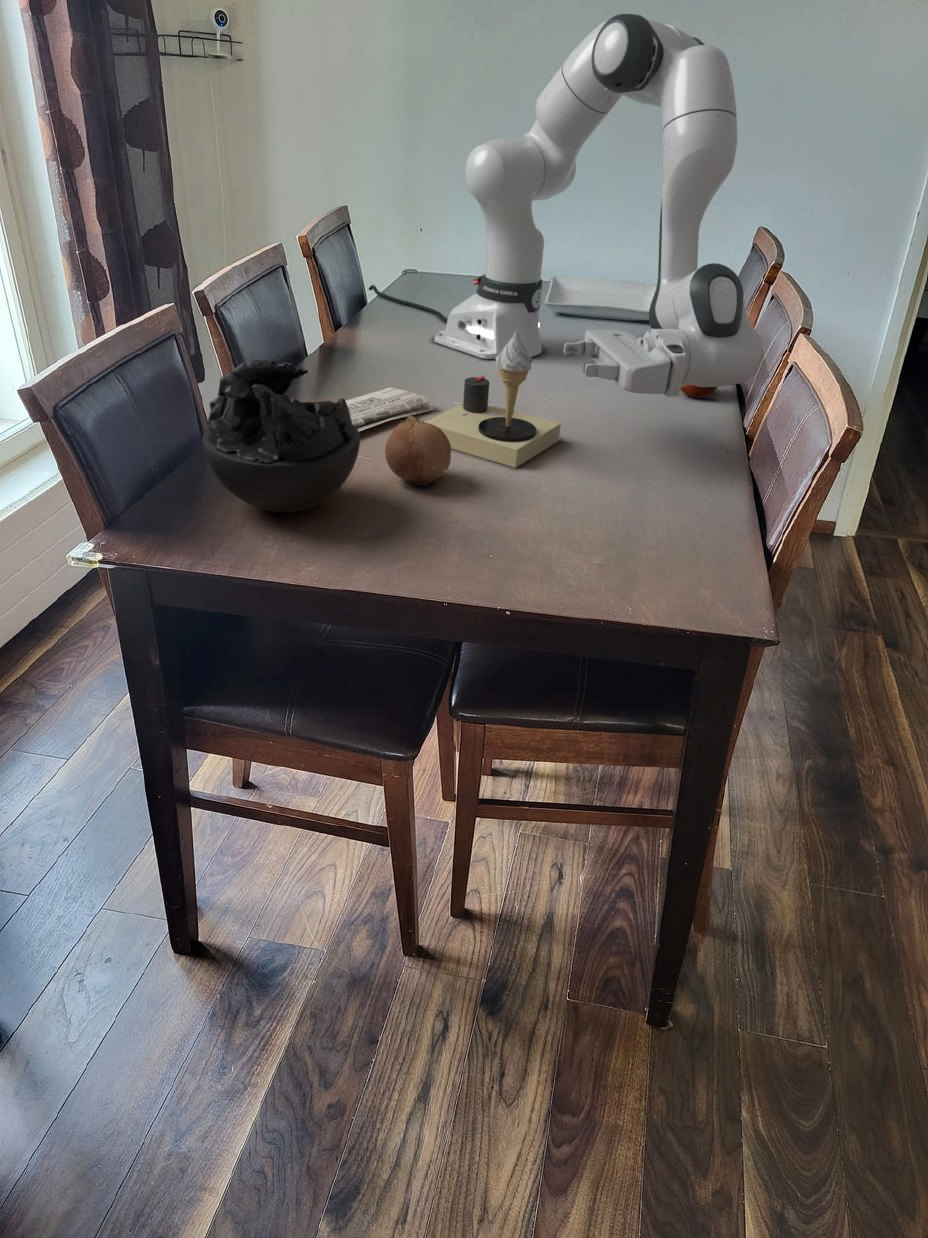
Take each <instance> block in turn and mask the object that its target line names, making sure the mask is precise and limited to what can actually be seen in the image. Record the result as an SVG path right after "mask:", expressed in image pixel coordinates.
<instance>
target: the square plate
mask: <svg viewBox="0 0 928 1238" xmlns="http://www.w3.org/2000/svg"><path fill="white" fill-rule="evenodd" d="M656 287H657V284H653V283H644V282H635V281H629V280H621V279H620V280H619V279H610V278H597V277H582V276H581V277H580V276H563V275H561V276H560V275H552V276H550V280H549V286H548V290H547V293H546V296H545V300H544V305H545V306H546V307H547V308H548V309H549V310H551V311H552V312H555V313H561V314H563V315H566V316H571V317H573V316H574V317H582V318H583V317H584V318H595V319H604V320H605V319H606V320H613V321H614V320H616V321H625V322H639V321H649V309H650V305H651V302H652V299H653V297H654V294H655V291H656Z"/></svg>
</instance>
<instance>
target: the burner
mask: <svg viewBox="0 0 928 1238" xmlns="http://www.w3.org/2000/svg"><path fill="white" fill-rule="evenodd" d="M478 430H479V432H480V433H481V434H482V435H484V436H485V437H488V438H490V439H494V440H498V441H505V442H519V441H525V440H529V439H531V438H533V437H534V436H535V435H536V427H535V426H534V425H533V424H531V423H530V422H527V421H525V420H521V419H517V418H512V420H511V425H510V427H507V426H506V417H494V418H489V419H485V420H483V421H481V422H480V423H479V427H478Z"/></svg>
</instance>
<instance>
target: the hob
mask: <svg viewBox="0 0 928 1238" xmlns="http://www.w3.org/2000/svg"><path fill="white" fill-rule="evenodd" d="M489 403H490V401H488V409H487V411H485V412H481V413H473V412H468V411H466V410H464V409H463V403H461V402H457V401H454V402H453V404H454V405H456V406H454V407H453V408H451V409H448V410H446V411H444V412H442V413H440V414H437V415H436V416H434V417H432V418H430V419H428V420H426V421H424V422H425V423H429V424H432V425H435V426H437V427H438V428H439V429H441V430H442V431H443V432H444V434H445V435H446V436H447V438H448V440H449V442H450V445H451V450H455V451H458V452H462V453H465V454H468V455H470V456H471V455H472V456H474V457H478V458H481V459H484V460H488V461H492V462H495V463H498V464H501V465H505V466H508V467H511V468H514V469H516V468H518V467H520V466H521V465H523V464H524V463H527V462H528V461H529V460H531V459H532V458H534V457H535V456H537V455H539V454H540V453H542V452H543V451H545V450H547V449H549V448H550V447H552V446H553V445H555V444H556V443H558V442H559V439H560V432H561V423H560V422H556V421H552V420H548V419H544V418H541V417H537V416H534V415H529V414H526V413H523V412H519V411H515V410H514V411H513V415H512V418H517V419H521V420H525V421H527V422H530V423H531V424H533V425H534V426H535V427H536V435H535V436H534V437H533V438H531V439H529V440H525V441H519V442H505V441H498V440H494V439H490V438H488V437H485V436H484V435H482V434H481V433H480V432H479V430H478V427H479V423H480V422H481V421H483V420H485V419H489V418H494V417H506V408H505V407H501V406H497V405H493V404H489Z"/></svg>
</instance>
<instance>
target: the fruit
mask: <svg viewBox="0 0 928 1238" xmlns="http://www.w3.org/2000/svg"><path fill="white" fill-rule="evenodd" d="M717 389H718V387H698V386H695V385H686V386H683V387H681V389H680V392H682V393H683V394H684V395H685V396H687V397H689V398H692V399H702V398H704V399H705V398H707V399H708V398H709V399H712V396H713V395H714V393H715V392H716V390H717Z"/></svg>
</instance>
